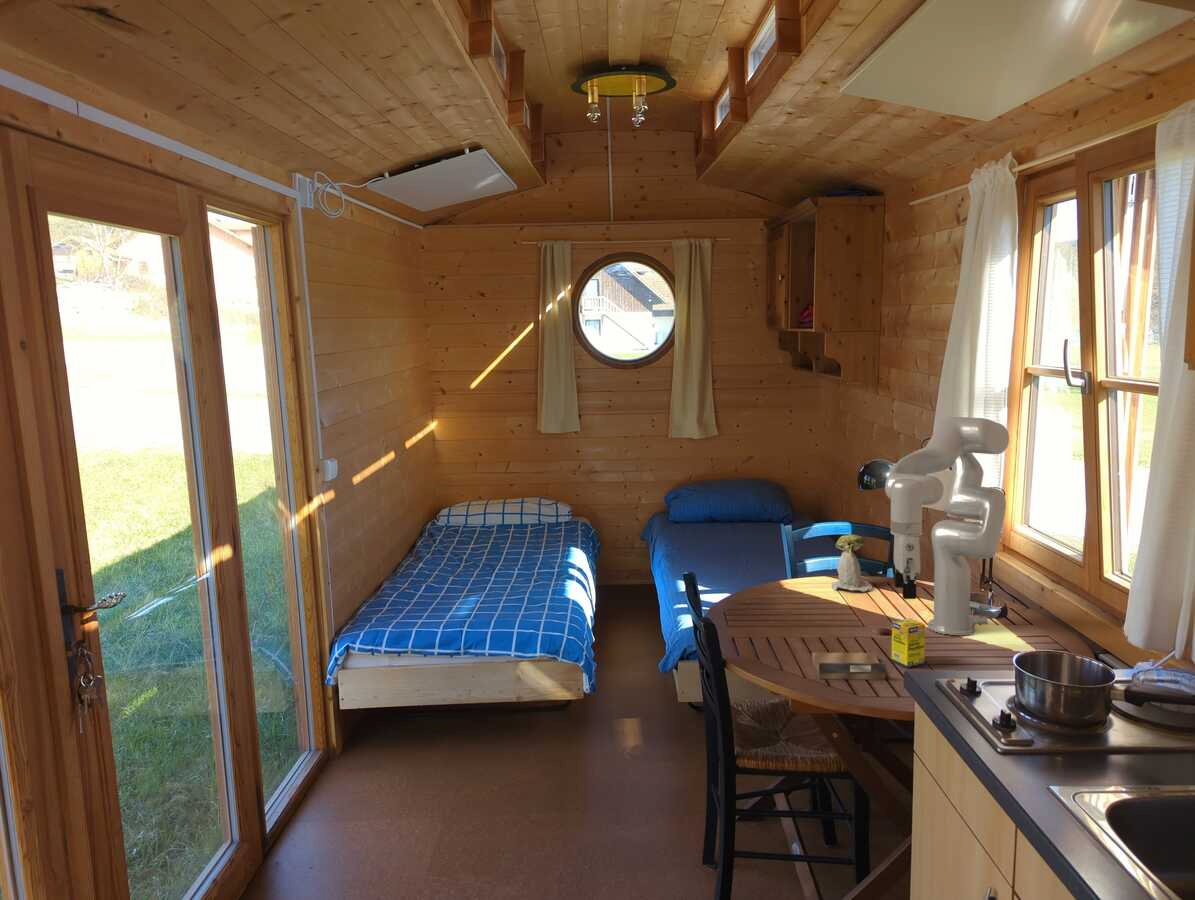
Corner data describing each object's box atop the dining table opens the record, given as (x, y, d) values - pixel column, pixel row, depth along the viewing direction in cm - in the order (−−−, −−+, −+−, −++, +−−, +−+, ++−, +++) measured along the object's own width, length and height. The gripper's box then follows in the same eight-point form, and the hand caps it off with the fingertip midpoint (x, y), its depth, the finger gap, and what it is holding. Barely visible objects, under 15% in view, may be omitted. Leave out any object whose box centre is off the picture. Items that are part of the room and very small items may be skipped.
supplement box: (907, 669, 221) (907, 627, 220) (890, 661, 227) (891, 621, 225) (925, 664, 224) (925, 624, 222) (908, 657, 229) (908, 617, 227)
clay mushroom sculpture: (868, 595, 282) (868, 540, 279) (828, 591, 288) (828, 537, 285) (874, 585, 292) (874, 532, 290) (835, 581, 298) (835, 529, 296)
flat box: (873, 658, 229) (874, 643, 228) (885, 679, 215) (885, 664, 215) (812, 658, 231) (812, 643, 230) (819, 679, 217) (819, 663, 216)
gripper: (929, 535, 212) (928, 603, 214) (913, 520, 229) (912, 583, 231) (897, 535, 213) (896, 603, 215) (884, 520, 230) (883, 583, 232)
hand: (905, 592), depth 223 cm, fingers open, 9 cm apart
